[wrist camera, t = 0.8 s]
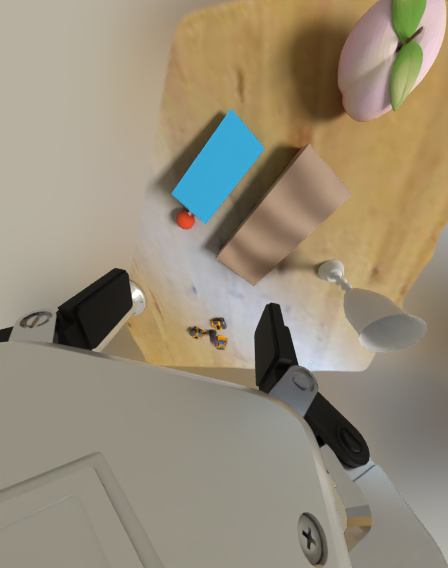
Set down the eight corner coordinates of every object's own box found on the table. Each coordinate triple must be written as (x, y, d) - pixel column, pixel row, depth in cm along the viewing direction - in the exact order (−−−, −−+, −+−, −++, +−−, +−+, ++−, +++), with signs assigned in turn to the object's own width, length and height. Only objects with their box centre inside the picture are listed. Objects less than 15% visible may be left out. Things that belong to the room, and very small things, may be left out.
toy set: (190, 312, 48) (185, 324, 44) (230, 317, 48) (228, 330, 43) (191, 340, 55) (187, 353, 50) (226, 345, 54) (225, 358, 50)
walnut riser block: (253, 277, 40) (253, 286, 36) (218, 250, 37) (216, 258, 34) (340, 192, 29) (352, 194, 26) (301, 148, 27) (309, 143, 23)
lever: (226, 133, 30) (167, 215, 34) (231, 108, 24) (157, 213, 28) (253, 163, 32) (195, 238, 36) (264, 148, 26) (191, 241, 29)
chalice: (354, 256, 35) (441, 317, 20) (342, 285, 38) (406, 354, 23) (317, 254, 35) (373, 312, 20) (308, 282, 39) (350, 349, 24)
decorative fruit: (400, 98, 23) (490, 52, 15) (335, 142, 26) (380, 124, 18) (388, 2, 19) (500, -134, 11) (315, 66, 22) (358, -4, 14)
